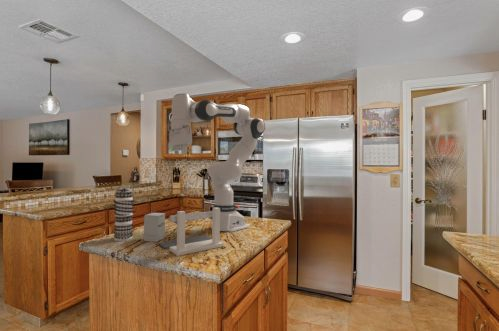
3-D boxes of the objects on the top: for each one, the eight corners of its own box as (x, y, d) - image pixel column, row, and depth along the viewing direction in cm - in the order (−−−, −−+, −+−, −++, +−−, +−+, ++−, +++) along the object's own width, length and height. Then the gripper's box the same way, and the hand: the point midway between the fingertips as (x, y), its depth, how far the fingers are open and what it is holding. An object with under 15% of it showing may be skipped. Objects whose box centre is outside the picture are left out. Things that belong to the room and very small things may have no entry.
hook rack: (213, 241, 128) (214, 205, 128) (223, 246, 121) (223, 208, 121) (169, 250, 114) (170, 209, 114) (177, 255, 108) (178, 213, 108)
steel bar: (218, 215, 127) (218, 210, 127) (220, 216, 125) (220, 210, 125) (169, 221, 112) (169, 215, 112) (171, 222, 111) (171, 216, 111)
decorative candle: (120, 242, 124) (121, 189, 124) (109, 239, 129) (109, 188, 129) (137, 237, 132) (138, 188, 132) (126, 235, 137) (126, 187, 137)
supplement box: (157, 242, 126) (157, 215, 126) (143, 241, 127) (143, 214, 127) (165, 238, 133) (165, 213, 133) (151, 236, 134) (152, 212, 134)
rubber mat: (204, 236, 137) (204, 234, 137) (212, 240, 131) (212, 238, 131) (158, 244, 122) (158, 242, 122) (164, 248, 116) (164, 247, 116)
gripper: (195, 124, 124) (195, 154, 124) (178, 129, 140) (178, 155, 141) (183, 123, 120) (182, 153, 120) (167, 128, 137) (166, 154, 137)
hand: (180, 154), depth 131 cm, fingers open, 8 cm apart
